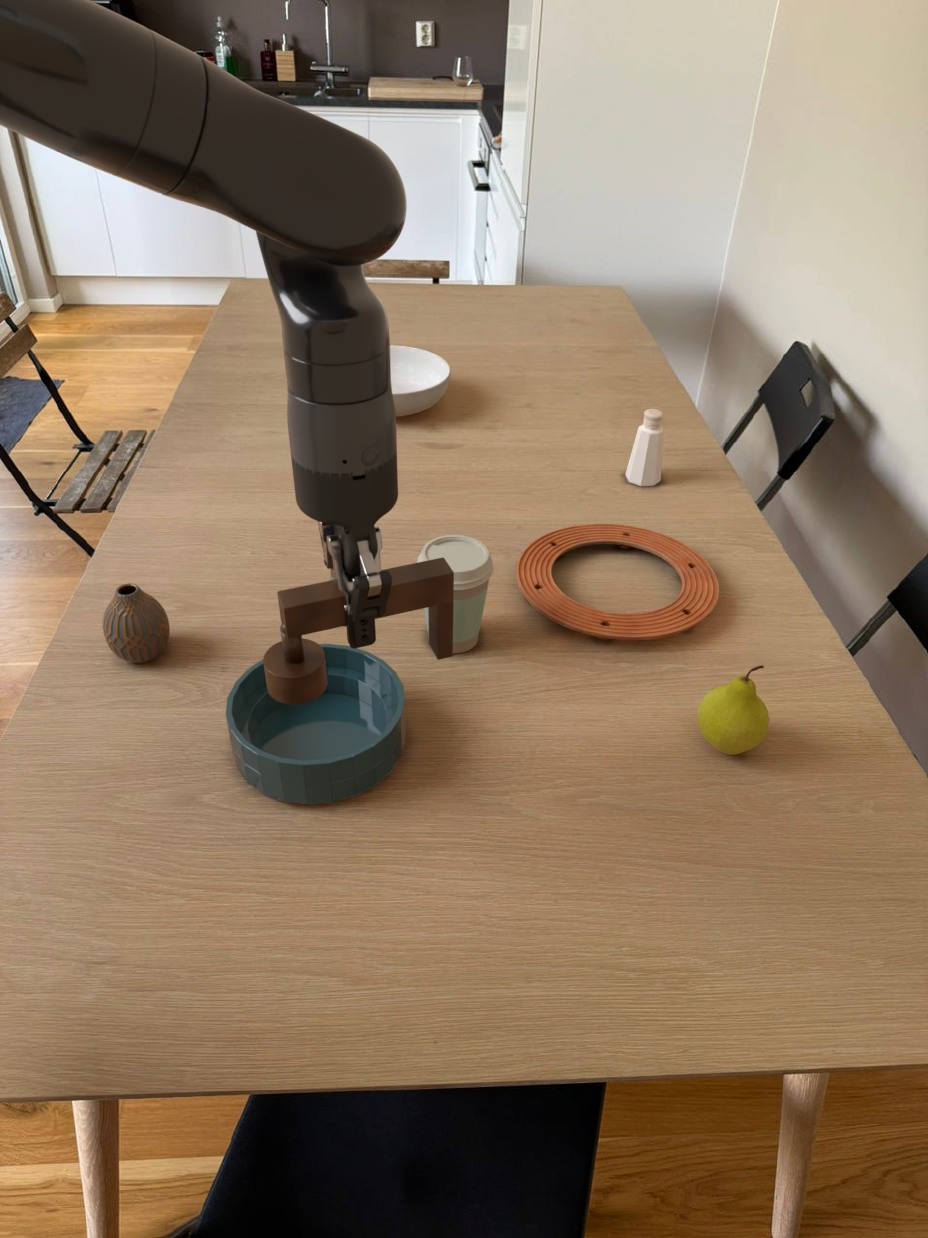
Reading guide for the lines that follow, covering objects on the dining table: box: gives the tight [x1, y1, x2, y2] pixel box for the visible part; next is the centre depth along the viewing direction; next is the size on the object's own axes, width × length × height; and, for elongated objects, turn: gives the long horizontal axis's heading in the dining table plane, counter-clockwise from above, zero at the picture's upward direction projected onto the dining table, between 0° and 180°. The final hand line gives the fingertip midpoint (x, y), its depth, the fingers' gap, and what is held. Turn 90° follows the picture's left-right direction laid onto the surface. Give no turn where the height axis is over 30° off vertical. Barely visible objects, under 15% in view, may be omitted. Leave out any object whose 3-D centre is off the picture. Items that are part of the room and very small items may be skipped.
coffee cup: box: [416, 534, 495, 654], centre depth 101 cm, size 8×8×12 cm
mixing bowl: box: [225, 643, 407, 805], centre depth 89 cm, size 17×17×6 cm
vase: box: [102, 583, 171, 664], centre depth 98 cm, size 7×7×9 cm
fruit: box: [697, 665, 770, 756], centre depth 88 cm, size 7×7×12 cm
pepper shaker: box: [625, 408, 665, 488], centre depth 133 cm, size 5×5×11 cm
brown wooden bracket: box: [262, 557, 454, 705], centre depth 73 cm, size 16×5×9 cm, turn 112°
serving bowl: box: [390, 344, 452, 417], centre depth 153 cm, size 21×21×7 cm
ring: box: [515, 523, 720, 641], centre depth 113 cm, size 25×25×2 cm
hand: (356, 632), depth 74 cm, fingers closed on brown wooden bracket, 2 cm apart
